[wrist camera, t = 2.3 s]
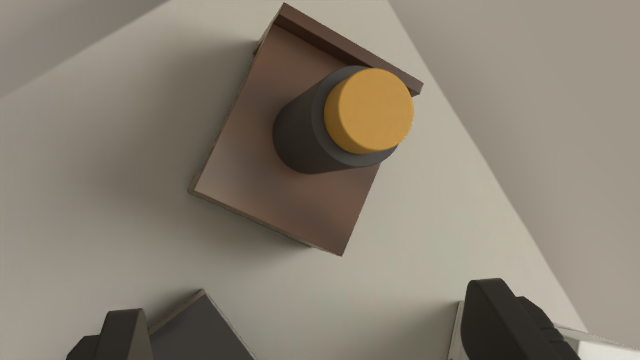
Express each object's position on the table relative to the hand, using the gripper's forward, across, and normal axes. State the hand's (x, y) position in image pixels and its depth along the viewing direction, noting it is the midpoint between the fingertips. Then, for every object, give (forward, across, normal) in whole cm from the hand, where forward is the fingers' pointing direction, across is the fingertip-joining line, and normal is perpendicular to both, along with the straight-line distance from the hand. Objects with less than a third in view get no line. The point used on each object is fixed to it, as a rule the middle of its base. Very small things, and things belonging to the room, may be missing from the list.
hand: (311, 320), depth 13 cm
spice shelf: (+25, -1, +6) cm, 25 cm away
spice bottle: (+20, -2, +3) cm, 20 cm away
